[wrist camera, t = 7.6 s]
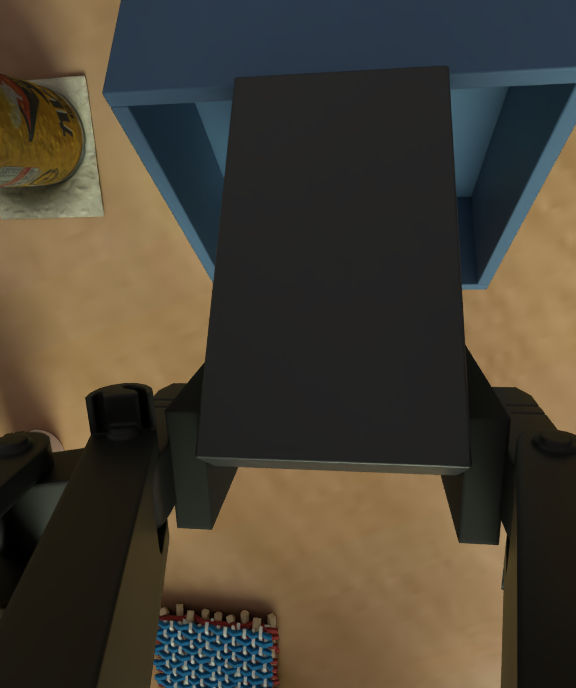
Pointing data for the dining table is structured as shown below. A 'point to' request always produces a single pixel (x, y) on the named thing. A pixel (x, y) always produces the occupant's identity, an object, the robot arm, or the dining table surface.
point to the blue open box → (343, 204)
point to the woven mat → (215, 651)
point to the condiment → (47, 150)
